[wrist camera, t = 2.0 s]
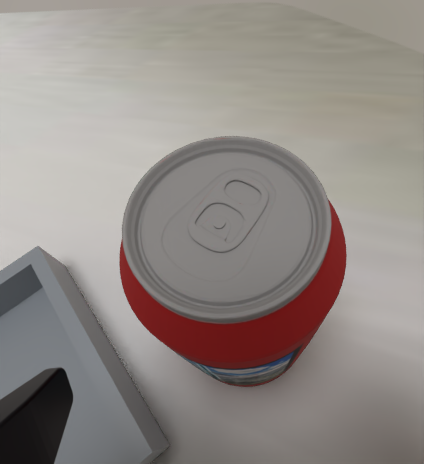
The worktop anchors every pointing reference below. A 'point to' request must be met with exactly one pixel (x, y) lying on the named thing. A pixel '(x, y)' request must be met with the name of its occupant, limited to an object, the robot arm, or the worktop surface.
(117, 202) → the worktop surface
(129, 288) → the beverage can
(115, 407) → the tray
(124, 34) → the worktop surface
